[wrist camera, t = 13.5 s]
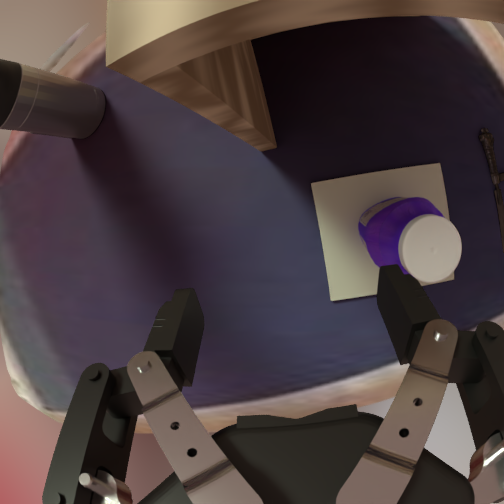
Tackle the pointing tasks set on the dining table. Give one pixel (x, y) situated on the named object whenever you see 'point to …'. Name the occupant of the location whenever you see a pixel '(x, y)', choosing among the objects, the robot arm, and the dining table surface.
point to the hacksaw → (494, 176)
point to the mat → (349, 212)
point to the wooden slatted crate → (236, 47)
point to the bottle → (411, 238)
